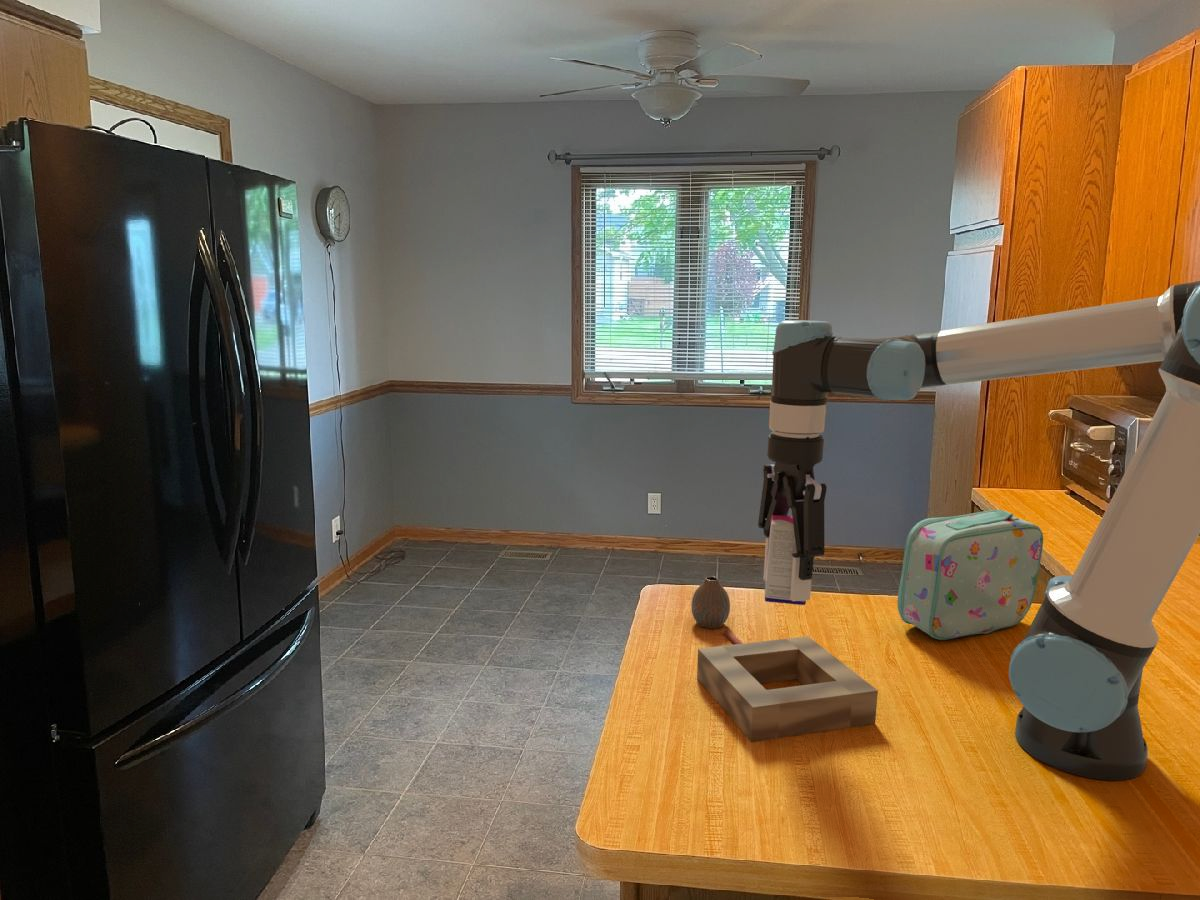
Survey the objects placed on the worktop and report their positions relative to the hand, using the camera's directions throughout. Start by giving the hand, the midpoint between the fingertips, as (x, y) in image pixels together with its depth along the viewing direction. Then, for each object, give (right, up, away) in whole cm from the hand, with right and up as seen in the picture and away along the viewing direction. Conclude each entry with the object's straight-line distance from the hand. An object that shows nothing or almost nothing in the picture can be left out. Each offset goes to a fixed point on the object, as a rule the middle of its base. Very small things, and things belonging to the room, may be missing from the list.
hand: (785, 589), depth 119 cm
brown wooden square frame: (0, -17, +3) cm, 17 cm away
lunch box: (+40, -12, +31) cm, 52 cm away
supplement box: (0, -1, 0) cm, 1 cm away
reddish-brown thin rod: (-3, -14, +21) cm, 25 cm away
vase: (-7, -12, +31) cm, 34 cm away
